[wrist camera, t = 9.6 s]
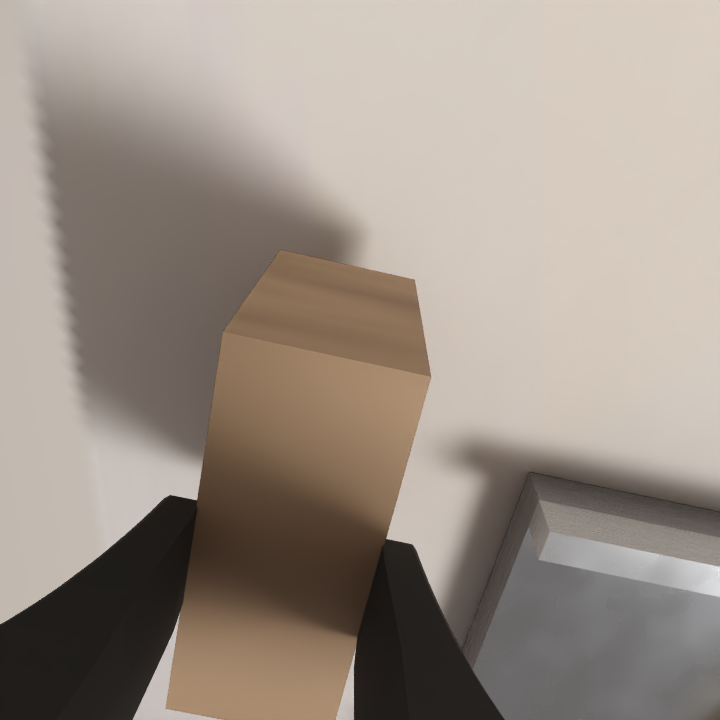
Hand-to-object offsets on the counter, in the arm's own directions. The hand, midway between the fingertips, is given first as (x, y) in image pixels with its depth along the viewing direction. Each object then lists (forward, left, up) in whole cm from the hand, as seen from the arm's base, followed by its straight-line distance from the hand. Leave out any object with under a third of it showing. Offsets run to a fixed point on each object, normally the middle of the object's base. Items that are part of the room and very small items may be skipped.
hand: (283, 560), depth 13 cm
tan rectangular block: (0, 0, -6) cm, 6 cm away
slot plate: (-8, -12, -8) cm, 16 cm away
